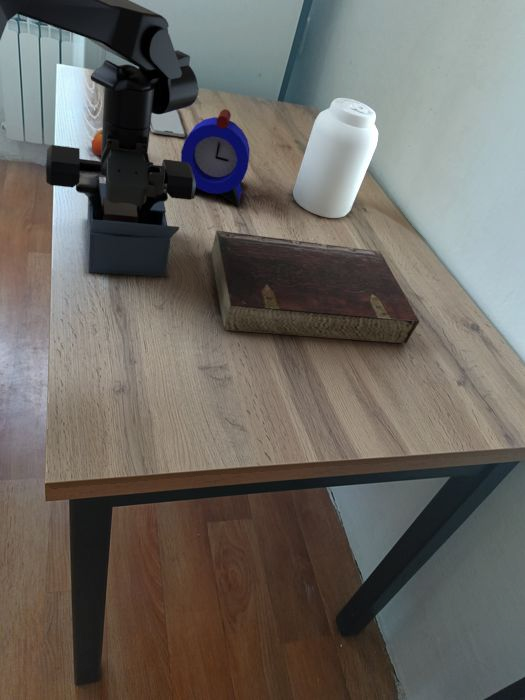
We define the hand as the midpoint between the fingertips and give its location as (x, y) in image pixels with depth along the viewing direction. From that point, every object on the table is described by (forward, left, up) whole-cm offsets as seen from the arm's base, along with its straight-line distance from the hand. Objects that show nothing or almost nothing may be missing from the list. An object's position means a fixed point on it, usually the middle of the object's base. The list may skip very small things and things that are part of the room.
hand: (118, 227), depth 77 cm
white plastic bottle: (+42, +25, -6) cm, 49 cm away
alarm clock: (+19, +27, -6) cm, 33 cm away
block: (0, 0, -1) cm, 1 cm away
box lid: (+2, -5, +4) cm, 6 cm away
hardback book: (+29, -7, -6) cm, 30 cm away
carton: (+2, +4, -6) cm, 7 cm away
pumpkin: (+1, +36, -6) cm, 36 cm away
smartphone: (+13, +54, -6) cm, 55 cm away
